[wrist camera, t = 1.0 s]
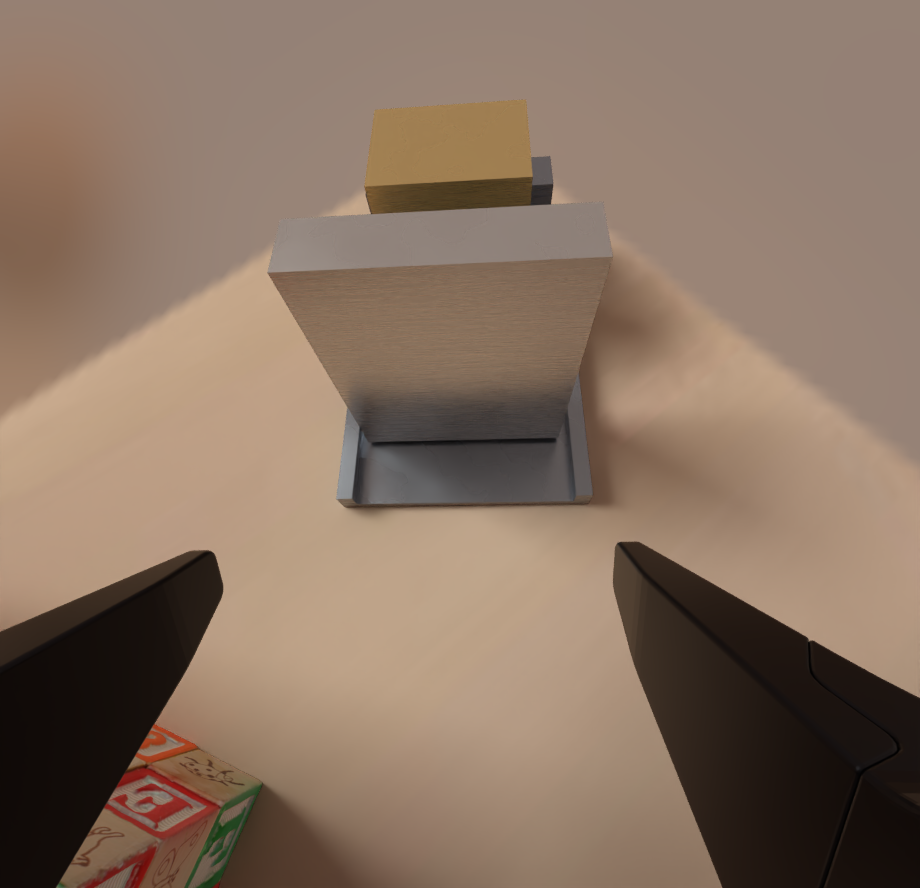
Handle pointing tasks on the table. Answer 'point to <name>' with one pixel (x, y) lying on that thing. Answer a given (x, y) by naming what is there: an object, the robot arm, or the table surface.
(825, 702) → the robot arm
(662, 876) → the table surface
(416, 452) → the vise
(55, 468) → the table surface
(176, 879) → the stack of blocks
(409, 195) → the brass block
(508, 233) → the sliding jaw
